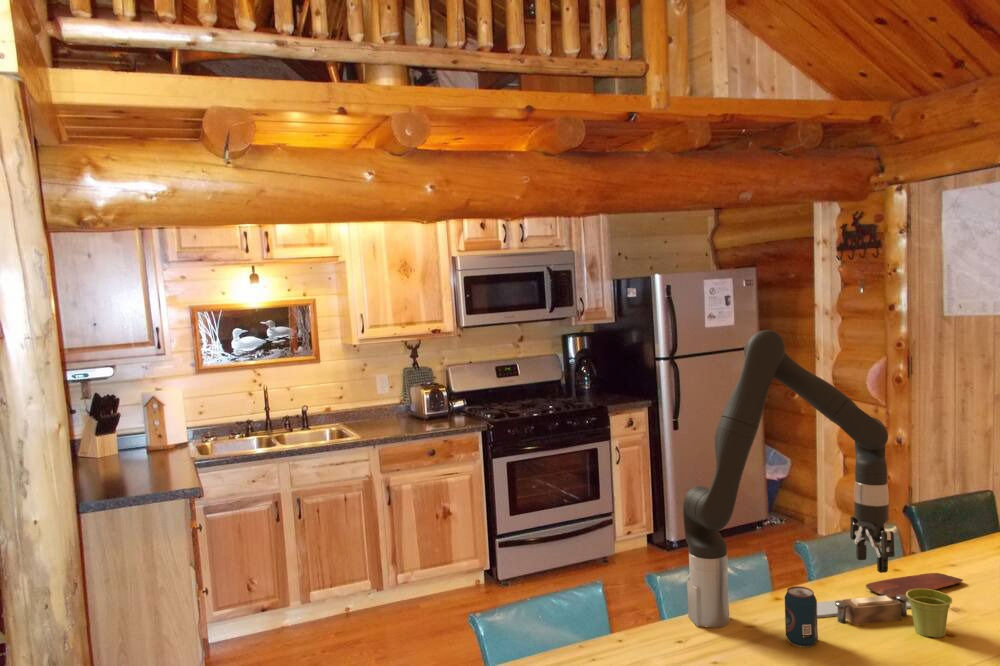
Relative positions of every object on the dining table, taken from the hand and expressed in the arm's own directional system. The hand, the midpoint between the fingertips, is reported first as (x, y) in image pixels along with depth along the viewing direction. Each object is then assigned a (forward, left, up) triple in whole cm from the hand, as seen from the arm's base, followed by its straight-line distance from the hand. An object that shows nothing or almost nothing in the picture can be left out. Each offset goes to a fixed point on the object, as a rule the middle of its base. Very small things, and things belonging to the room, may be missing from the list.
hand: (871, 565), depth 180 cm
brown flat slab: (+22, +14, -13) cm, 29 cm away
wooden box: (0, +1, -14) cm, 14 cm away
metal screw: (-8, +1, -13) cm, 15 cm away
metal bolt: (+8, +1, -13) cm, 16 cm away
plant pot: (+8, -9, -14) cm, 18 cm away
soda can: (-22, -7, -14) cm, 27 cm away
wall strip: (0, +7, -13) cm, 15 cm away
